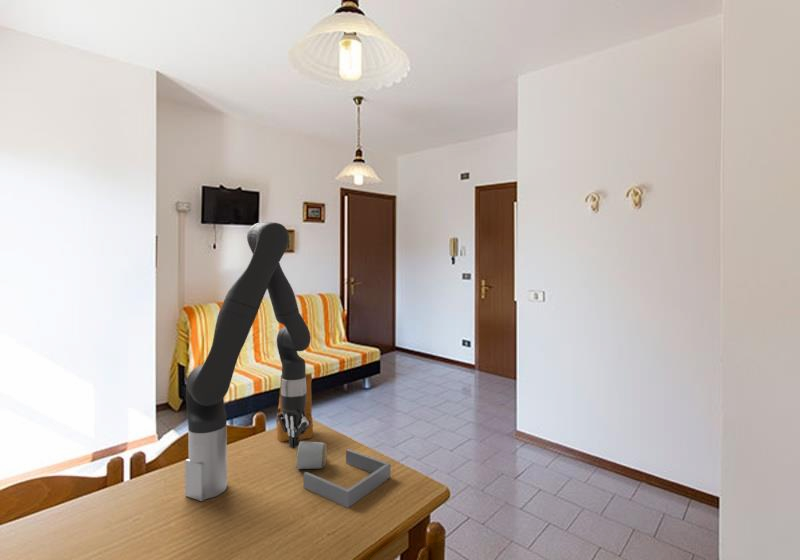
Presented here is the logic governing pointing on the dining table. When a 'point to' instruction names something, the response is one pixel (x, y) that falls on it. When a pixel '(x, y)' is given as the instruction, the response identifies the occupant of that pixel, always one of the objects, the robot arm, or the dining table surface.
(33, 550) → the dining table surface
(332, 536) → the dining table surface
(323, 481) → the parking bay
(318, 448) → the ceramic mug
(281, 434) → the coffee package
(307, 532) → the dining table surface
